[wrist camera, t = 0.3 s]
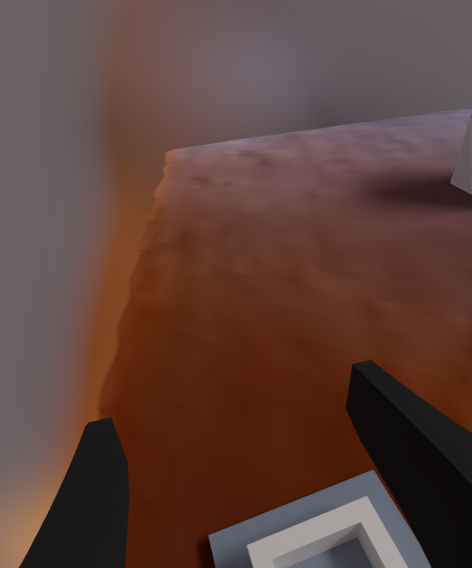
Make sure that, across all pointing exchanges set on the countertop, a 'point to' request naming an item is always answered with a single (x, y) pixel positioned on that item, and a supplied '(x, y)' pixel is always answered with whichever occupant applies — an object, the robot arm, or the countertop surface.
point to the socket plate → (324, 532)
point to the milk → (464, 163)
